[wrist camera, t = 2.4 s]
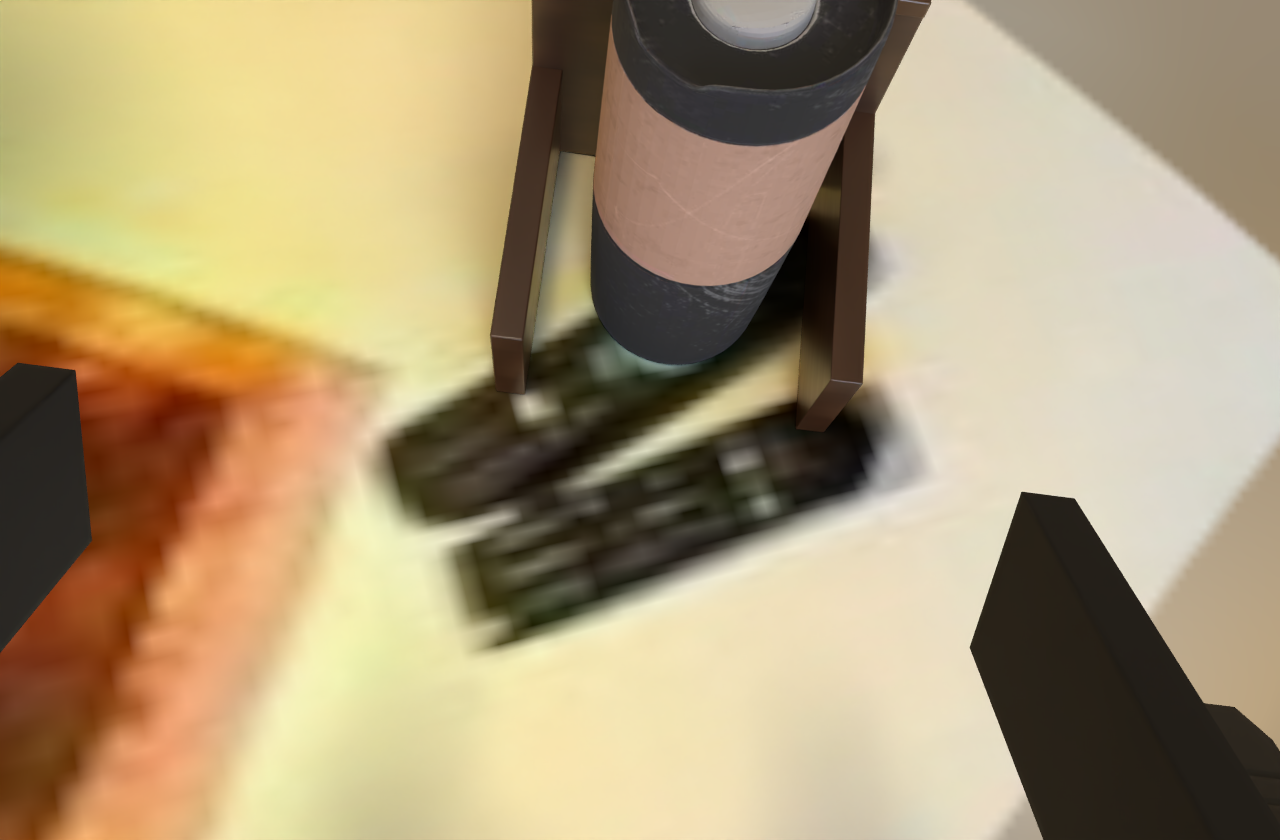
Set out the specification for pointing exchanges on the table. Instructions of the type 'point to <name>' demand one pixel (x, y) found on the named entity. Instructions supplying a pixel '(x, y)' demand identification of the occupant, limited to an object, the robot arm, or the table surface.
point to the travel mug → (716, 157)
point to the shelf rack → (569, 121)
